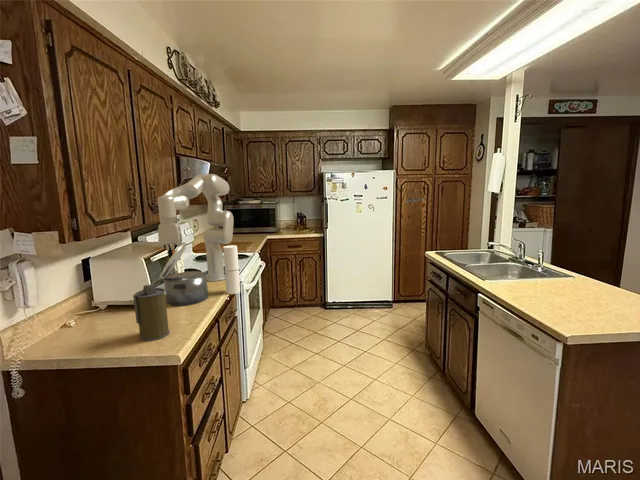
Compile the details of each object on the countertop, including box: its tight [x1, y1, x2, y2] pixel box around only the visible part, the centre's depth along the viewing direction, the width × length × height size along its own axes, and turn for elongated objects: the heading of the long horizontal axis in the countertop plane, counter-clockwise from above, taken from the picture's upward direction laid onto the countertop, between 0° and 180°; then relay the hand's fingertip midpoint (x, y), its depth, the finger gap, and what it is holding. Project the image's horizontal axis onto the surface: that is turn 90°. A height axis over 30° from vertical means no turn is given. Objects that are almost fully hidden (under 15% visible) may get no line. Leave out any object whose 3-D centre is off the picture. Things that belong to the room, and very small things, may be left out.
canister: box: [133, 283, 170, 342], centre depth 127 cm, size 11×10×20 cm
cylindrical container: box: [222, 245, 241, 295], centre depth 178 cm, size 7×7×25 cm
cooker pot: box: [163, 270, 209, 307], centre depth 169 cm, size 24×20×12 cm
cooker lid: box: [159, 241, 188, 280], centre depth 166 cm, size 21×21×3 cm
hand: (172, 257), depth 166 cm, fingers closed
